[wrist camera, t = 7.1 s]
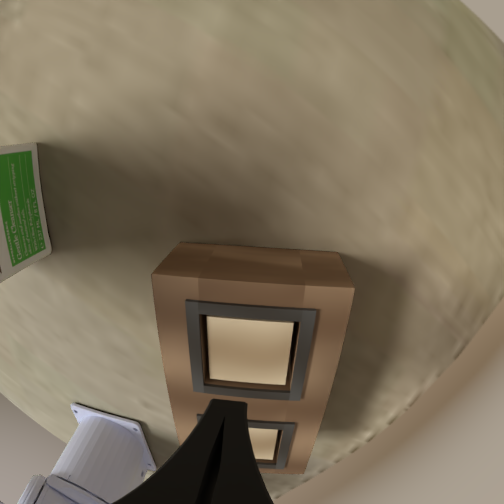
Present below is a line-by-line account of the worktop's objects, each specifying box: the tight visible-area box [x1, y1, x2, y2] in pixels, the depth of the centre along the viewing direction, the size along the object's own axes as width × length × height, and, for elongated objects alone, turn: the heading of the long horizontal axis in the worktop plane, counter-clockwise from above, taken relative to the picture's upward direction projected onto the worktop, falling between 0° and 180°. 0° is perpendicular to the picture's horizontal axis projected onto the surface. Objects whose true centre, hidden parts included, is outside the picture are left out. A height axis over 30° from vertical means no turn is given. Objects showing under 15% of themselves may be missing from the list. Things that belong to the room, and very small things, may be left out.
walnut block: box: [151, 242, 355, 474], centre depth 18 cm, size 16×9×5 cm, turn 178°
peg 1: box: [207, 315, 294, 385], centre depth 17 cm, size 4×4×4 cm
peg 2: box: [248, 428, 278, 460], centre depth 19 cm, size 4×4×4 cm
